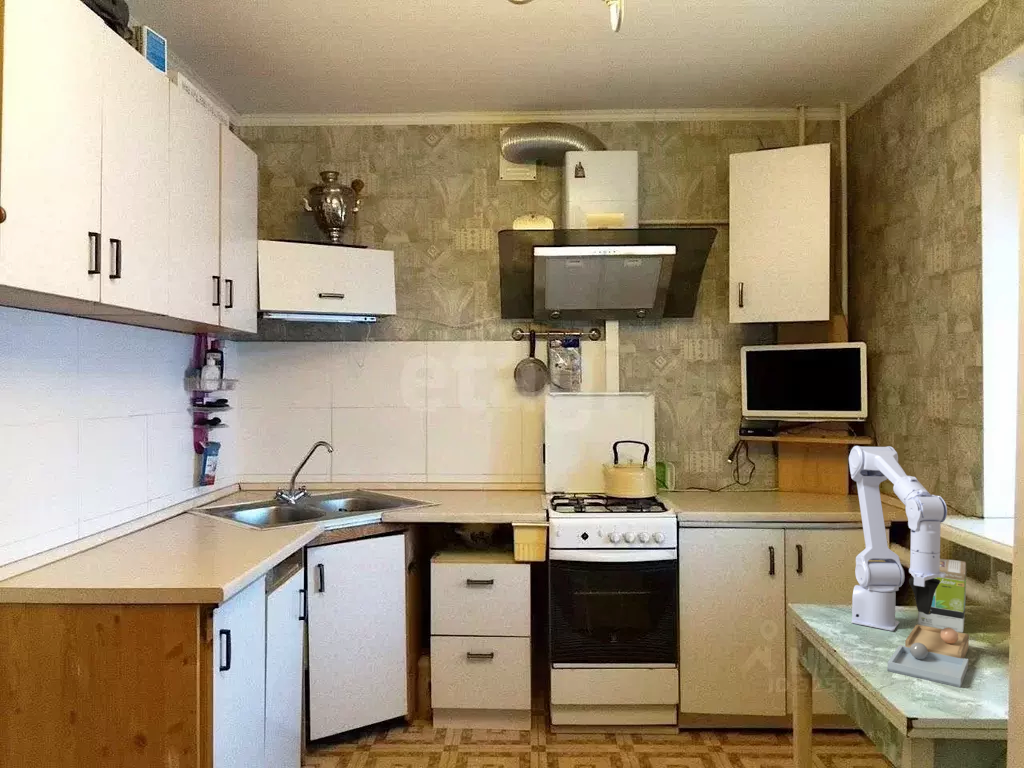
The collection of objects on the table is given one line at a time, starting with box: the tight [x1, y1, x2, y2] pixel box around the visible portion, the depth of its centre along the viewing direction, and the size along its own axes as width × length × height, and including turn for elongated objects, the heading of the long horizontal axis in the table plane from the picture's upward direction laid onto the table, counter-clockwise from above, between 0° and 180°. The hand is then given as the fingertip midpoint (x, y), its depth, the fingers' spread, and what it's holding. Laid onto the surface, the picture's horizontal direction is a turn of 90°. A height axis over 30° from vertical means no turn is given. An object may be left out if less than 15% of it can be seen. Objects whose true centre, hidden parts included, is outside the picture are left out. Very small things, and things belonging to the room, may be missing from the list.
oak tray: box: [904, 623, 970, 659], centre depth 163 cm, size 10×14×3 cm
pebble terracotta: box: [940, 628, 958, 644], centre depth 162 cm, size 3×3×3 cm
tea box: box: [917, 557, 967, 633], centre depth 185 cm, size 15×10×15 cm, turn 148°
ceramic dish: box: [887, 644, 969, 688], centre depth 153 cm, size 13×13×2 cm
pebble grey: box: [910, 643, 928, 659], centre depth 158 cm, size 3×3×3 cm
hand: (923, 611), depth 162 cm, fingers closed
